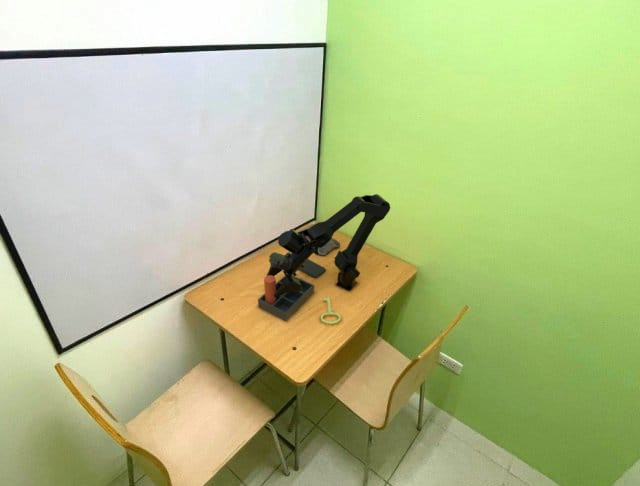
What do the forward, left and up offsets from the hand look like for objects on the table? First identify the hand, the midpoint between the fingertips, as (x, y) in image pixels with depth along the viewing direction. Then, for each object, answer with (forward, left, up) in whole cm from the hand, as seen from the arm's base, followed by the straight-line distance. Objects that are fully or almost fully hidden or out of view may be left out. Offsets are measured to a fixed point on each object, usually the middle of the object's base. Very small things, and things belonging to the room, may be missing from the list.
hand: (270, 288), depth 133 cm
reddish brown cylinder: (0, 0, -8) cm, 8 cm away
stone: (+3, -43, -9) cm, 44 cm away
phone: (+1, -27, -9) cm, 29 cm away
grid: (-3, -6, -9) cm, 11 cm away
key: (-20, -9, -9) cm, 24 cm away
